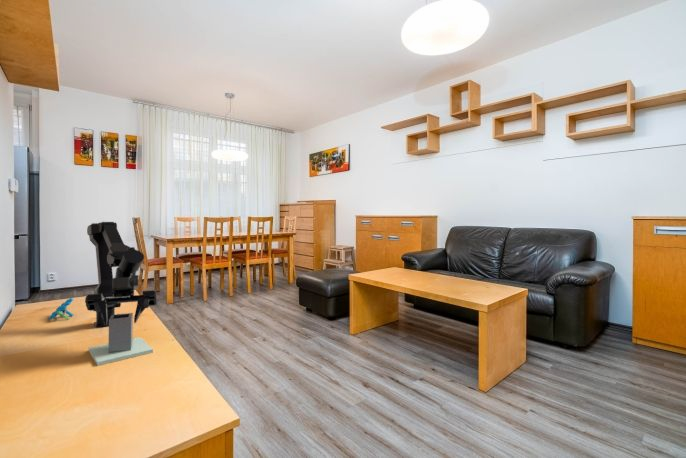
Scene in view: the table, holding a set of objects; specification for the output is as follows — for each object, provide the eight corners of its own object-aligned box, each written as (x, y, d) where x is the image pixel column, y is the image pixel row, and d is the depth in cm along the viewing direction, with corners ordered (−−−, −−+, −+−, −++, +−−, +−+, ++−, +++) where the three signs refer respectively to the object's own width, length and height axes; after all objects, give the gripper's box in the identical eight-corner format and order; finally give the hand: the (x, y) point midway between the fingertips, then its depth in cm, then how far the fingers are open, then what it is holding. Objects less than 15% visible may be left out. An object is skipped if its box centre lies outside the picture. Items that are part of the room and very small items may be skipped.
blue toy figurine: (50, 311, 135) (72, 293, 138) (63, 319, 138) (85, 301, 141) (43, 322, 126) (67, 303, 129) (58, 331, 129) (80, 312, 131)
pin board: (88, 350, 102) (88, 334, 102) (139, 339, 112) (140, 325, 112) (97, 365, 93) (97, 348, 92) (153, 352, 103) (153, 336, 102)
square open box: (111, 346, 104) (111, 314, 103) (132, 343, 106) (132, 312, 106) (108, 353, 99) (108, 319, 98) (130, 350, 101) (131, 317, 101)
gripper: (86, 267, 101) (77, 313, 91) (156, 265, 110) (155, 307, 100) (91, 288, 108) (83, 332, 99) (157, 284, 117) (155, 325, 107)
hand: (120, 323), depth 101 cm, fingers open, 7 cm apart
